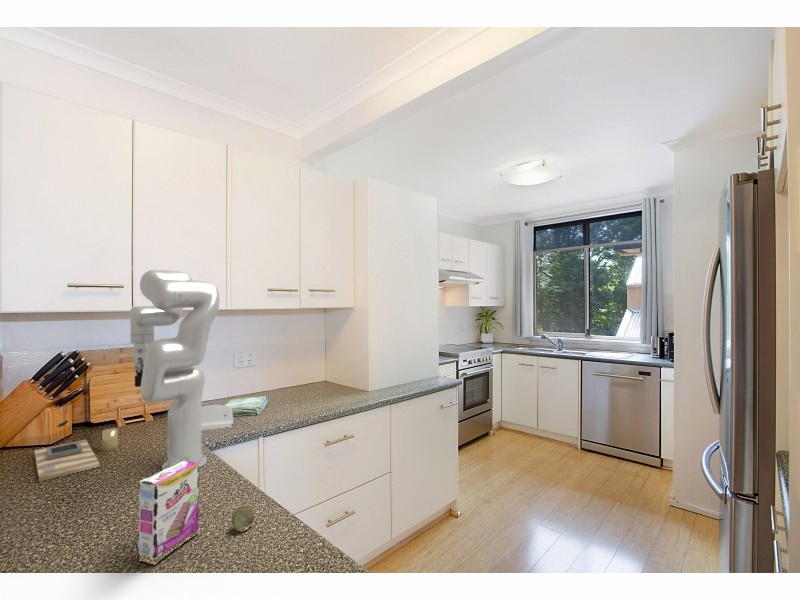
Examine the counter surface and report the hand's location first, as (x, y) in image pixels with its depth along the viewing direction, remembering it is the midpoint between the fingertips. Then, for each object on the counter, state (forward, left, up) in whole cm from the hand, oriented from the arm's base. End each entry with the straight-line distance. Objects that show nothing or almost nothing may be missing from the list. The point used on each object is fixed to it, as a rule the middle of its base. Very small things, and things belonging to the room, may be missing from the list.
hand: (142, 383), depth 146 cm
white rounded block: (+12, -22, -22) cm, 33 cm away
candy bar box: (-74, -31, -22) cm, 83 cm away
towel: (+33, -32, -23) cm, 51 cm away
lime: (-71, -45, -22) cm, 87 cm away
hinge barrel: (-7, +8, -22) cm, 24 cm away
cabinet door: (-14, +18, -22) cm, 31 cm away
